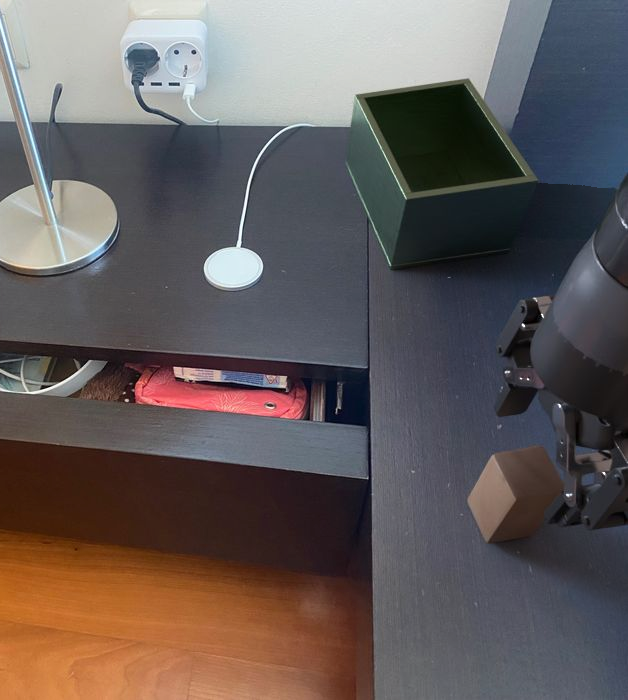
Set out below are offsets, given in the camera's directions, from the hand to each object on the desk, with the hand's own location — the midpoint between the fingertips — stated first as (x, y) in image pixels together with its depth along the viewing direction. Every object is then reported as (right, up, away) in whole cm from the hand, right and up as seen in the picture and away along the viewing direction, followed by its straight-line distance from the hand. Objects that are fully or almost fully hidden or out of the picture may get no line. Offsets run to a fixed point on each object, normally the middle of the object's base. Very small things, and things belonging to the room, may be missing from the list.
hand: (532, 461), depth 51 cm
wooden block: (+1, -6, +7) cm, 9 cm away
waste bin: (+3, +24, +30) cm, 38 cm away
